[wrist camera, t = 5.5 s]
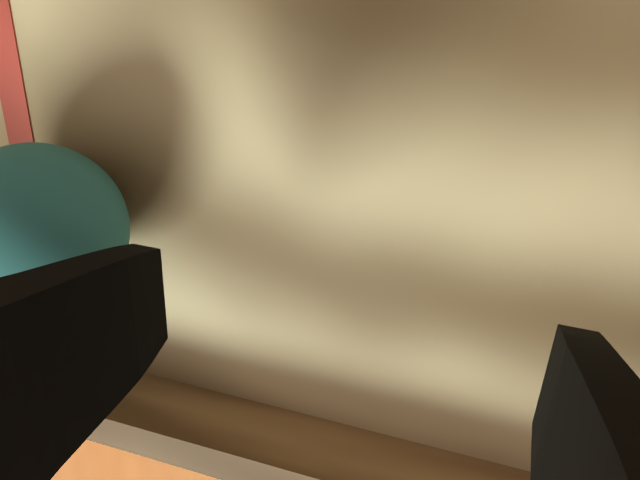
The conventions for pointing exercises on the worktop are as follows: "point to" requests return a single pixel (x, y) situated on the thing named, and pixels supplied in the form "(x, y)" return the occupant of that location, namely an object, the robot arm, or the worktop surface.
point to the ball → (55, 207)
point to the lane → (351, 215)
